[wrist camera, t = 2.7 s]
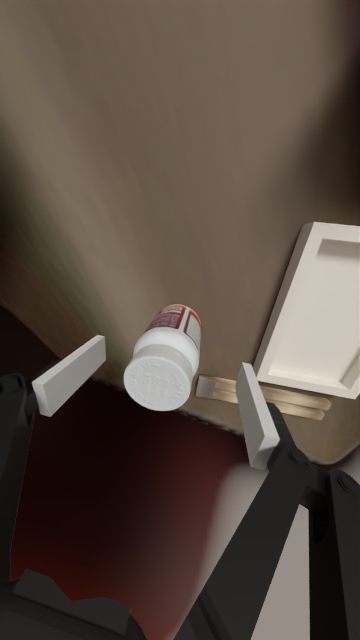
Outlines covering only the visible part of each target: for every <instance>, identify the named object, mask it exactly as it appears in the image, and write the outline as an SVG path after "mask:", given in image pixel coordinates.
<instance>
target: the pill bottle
mask: <svg viewBox="0 0 360 640" xmlns="http://www.w3.org/2000/svg"><path fill="white" fill-rule="evenodd" d="M200 339H201V322H200V319H199V317H198V315H197V314H196V313H195V312H194V311H193V310H192V309H190V308H189V307H187V306H184V305H179V304H175V305H170V306H167V307H165V308H164V309H163V310H161V311H160V312H159V314H158V315H157V316H156V318H155V319H154V320H153V322H152V323H151V324H150V325H149V327H148V328H147V329H146V331H145V332H144V333H143V335H142V336H141V337H140V338H139V340H138V342H137V343H136V345H135V348H134V353H133V359H132V360H131V362H130V363H129V365H128V366H127V368H126V370H125V373H124V385H125V388H126V390H127V392H128V393H129V395H130V396H131V397H132V398H133V399H134V400H135V401H136V402H137V403H139V404H140V405H142V406H144V407H146V408H149V409H153V410H157V411H168V410H173V409H176V408H178V407H180V406H181V405H183V404H184V403H185V402H186V400H187V399H188V397H189V395H190V391H191V384H192V379H193V376H194V375H195V373H196V371H197V369H198V365H199V354H200Z"/></svg>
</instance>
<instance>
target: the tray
mask: <svg viewBox="0 0 360 640" xmlns="http://www.w3.org/2000/svg"><path fill="white" fill-rule="evenodd" d="M253 370H254V373H255V376H256V378H257V381H262V382H267V383H273V384H278V385H283V386H288V387H294V388H299V389H304V390H309V391H315V392H320V393H325V394H330V395H336V396H341V397H346V398H351V399H356V397H357V396H358V395H359V393H360V226H350V225H341V224H331V223H321V222H312V223H308V224H304V225H302V228H301V231H300V234H299V237H298V240H297V243H296V245H295V248H294V251H293V254H292V257H291V260H290V263H289V265H288V268H287V271H286V274H285V277H284V280H283V282H282V285H281V288H280V291H279V294H278V297H277V300H276V302H275V305H274V308H273V311H272V314H271V317H270V320H269V322H268V325H267V328H266V331H265V334H264V337H263V339H262V342H261V345H260V348H259V351H258V354H257V357H256V359H255V362H254V365H253Z"/></svg>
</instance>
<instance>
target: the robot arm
mask: <svg viewBox="0 0 360 640" xmlns="http://www.w3.org/2000/svg"><path fill="white" fill-rule="evenodd" d="M105 360H106V352H105V336H100V335H97V336H95V337H94V338H92V339H91V340H90V341H88V342H87V343H85V344H84V345H83V346H81V347H80V348H79V349H77V350H76V351H74V352H73V353H72V354H70V355H69V356H67V357H66V358H65V359H60V360H57V361H55V362H53V363H51V364H50V365H48V366H47V367H46V368H44V369H43V370H42V371H40V372H38V373H37V374H36V375H34V376H33V377H31V378H30V379H28V380H27V381H25V380H24V377H23V375H22V374H20V373H13V374H8V375H5V376H3V377H1V378H0V640H147V639H146V637H145V635H144V633H143V630H142V628H141V627H140V625H139V624H138V622H137V621H136V620H135V619H134V617H133V616H132V615H131V606H128V605H125V604H123V603H120V602H117V601H114V600H111V599H109V598H106V597H100V598H93V599H86V600H80V601H70V600H69V599H68V598H67V597H66V596H65V594H64V593H63V592H62V591H61V589H60V588H59V587H58V586H57V585H56V584H55V582H54V581H53V580H52V579H51V578H50V577H47V576H45V575H42V574H39V573H36V572H34V571H31V570H28V569H26V570H25V571H24V573H23V575H22V577H21V578H18V579H15V580H12V581H9V580H10V568H11V566H10V549H11V544H12V538H13V533H14V526H15V521H16V516H17V510H18V505H19V499H20V494H21V488H22V483H23V477H24V470H25V466H26V460H27V455H28V449H29V444H30V438H31V432H32V427H33V422H34V411H35V410H37V409H38V408H39V411H40V414H42V415H46V416H52V415H53V414H54V412H56V411H57V410H58V408H60V407H61V406H62V404H63V403H64V402H65V401H66V400H67V399H68V398H69V397H70V396H71V395H72V394H73V393H74V392H75V391H76V390H77V389H78V388H79V387H80V386H81V385H82V384H83V383H84V382H85V381H86V380H87V379H88V378H89V377H90V376H91V375H92V374H93V373H94V372H95V371H96V370H97V369H98V368H99V367H100V366H101V365H102V363H103V362H104V361H105ZM235 389H236V395H237V400H238V405H239V410H240V415H241V420H242V425H243V430H244V435H245V440H246V446H247V451H248V456H249V461H250V465H251V467H254V468H257V469H262V470H264V469H265V467H266V465H268V468H269V473H268V475H267V477H266V479H265V481H264V482H263V484H262V486H261V487H260V489H259V491H258V493H257V494H256V496H255V498H254V500H253V502H252V503H251V505H250V507H249V509H248V510H247V512H246V514H245V516H244V517H243V519H242V521H241V523H240V525H239V526H238V528H237V530H236V532H235V533H234V535H233V537H232V539H231V540H230V542H229V544H228V545H227V547H226V549H225V551H224V553H223V554H222V556H221V558H220V560H219V561H218V563H217V565H216V567H215V568H214V570H213V572H212V574H211V575H210V577H209V579H208V581H207V582H206V584H205V586H204V588H203V589H202V591H201V593H200V594H199V596H198V598H197V599H196V601H195V603H194V605H193V606H192V608H191V610H190V612H189V613H188V615H187V617H186V619H185V620H184V622H183V624H182V626H181V627H180V629H179V631H178V633H177V634H176V636H175V638H174V640H251V637H252V634H253V631H254V628H255V625H256V623H257V620H258V617H259V614H260V611H261V609H262V606H263V603H264V601H265V597H266V595H267V592H268V589H269V586H270V584H271V581H272V578H273V575H274V573H275V570H276V567H277V564H278V561H279V558H280V556H281V553H282V550H283V547H284V544H285V542H286V539H287V536H288V534H289V531H290V528H291V525H292V522H293V520H294V517H295V514H296V511H297V508H298V506H299V504H301V505H302V506H304V507H305V508H307V509H308V510H309V591H310V592H309V593H310V594H309V596H310V640H360V485H359V484H358V483H357V482H356V481H355V480H354V479H353V478H352V477H351V476H350V475H348V474H347V473H345V472H343V471H341V470H339V469H333V470H331V471H330V472H327V471H325V470H323V469H321V468H319V467H317V466H315V465H314V464H312V463H311V462H310V461H309V459H308V458H307V457H306V455H305V454H304V453H303V452H302V451H301V450H299V449H298V448H297V447H296V445H295V443H294V441H293V438H292V436H291V434H290V432H289V430H288V427H287V425H286V424H285V421H284V419H283V416H282V414H281V412H280V410H279V409H278V408H277V406H276V405H275V404H274V403H270V402H265V399H264V397H263V394H262V391H261V389H260V386H259V383H258V381H257V378H256V376H255V373H254V370H253V368H252V365H251V364H248V363H243V362H242V365H241V368H240V371H239V375H238V378H237V381H236V384H235Z"/></svg>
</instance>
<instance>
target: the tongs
mask: <svg viewBox="0 0 360 640" xmlns="http://www.w3.org/2000/svg"><path fill="white" fill-rule="evenodd" d="M235 384H236V381H233V380H228V379H223V378H218V377H212V376H207V375H202V374H199V379H198V384H197V389H196V396H199V397H204V398H208V399H212V398H214V399H218V400H223V401H228V402H233V403H238V400H237V395H236V389H235ZM260 389H261V391H262V394H263V397H264V399H265V402H270V403H274V404H275V405H276V406H277V408H278V409H279V410H280V412H282V413H287V414H292V415H297V416H302V417H307V418H312V419H317V420H322V418H323V417H324V415H325V414H324V413H323V411H322V410H327V411H328V409H329V408H330V406H331V403H330V402H329V400H328V399H327V398H321V397H316V396H311V395H306V394H301V393H295V392H290V391H285V390H280V389H275V388H269V387H264V386H260ZM321 409H322V410H321Z"/></svg>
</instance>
